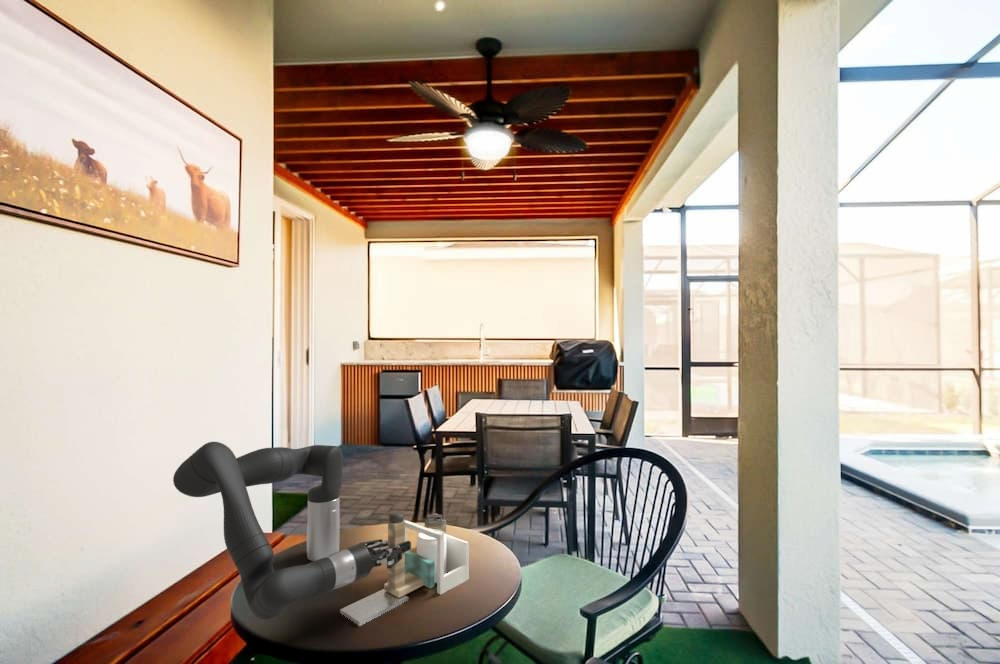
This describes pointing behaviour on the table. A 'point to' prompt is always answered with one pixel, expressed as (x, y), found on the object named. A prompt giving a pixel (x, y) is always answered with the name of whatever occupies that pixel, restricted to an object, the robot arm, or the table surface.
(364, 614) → the white flat board
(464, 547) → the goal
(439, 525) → the lighter
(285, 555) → the table surface
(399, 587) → the kicker rod
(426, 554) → the beverage can
